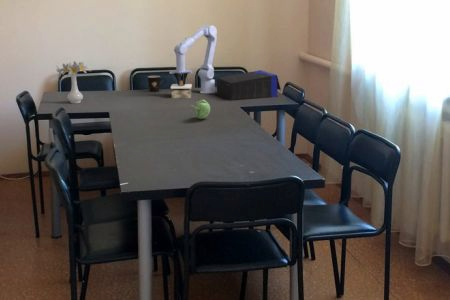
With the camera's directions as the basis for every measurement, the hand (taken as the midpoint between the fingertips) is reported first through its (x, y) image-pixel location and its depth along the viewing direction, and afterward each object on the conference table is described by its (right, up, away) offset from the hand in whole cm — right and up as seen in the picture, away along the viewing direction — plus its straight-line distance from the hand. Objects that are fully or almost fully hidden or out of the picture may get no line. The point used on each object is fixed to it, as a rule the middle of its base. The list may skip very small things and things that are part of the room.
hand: (181, 84), depth 372 cm
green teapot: (+15, -26, -62) cm, 69 cm away
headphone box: (+44, -7, +5) cm, 44 cm away
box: (0, -7, +2) cm, 8 cm away
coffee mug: (-18, -2, +20) cm, 27 cm away
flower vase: (-65, -13, -16) cm, 68 cm away
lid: (0, -1, 0) cm, 1 cm away
